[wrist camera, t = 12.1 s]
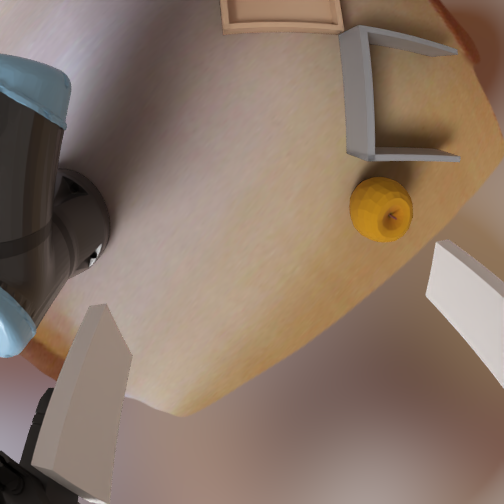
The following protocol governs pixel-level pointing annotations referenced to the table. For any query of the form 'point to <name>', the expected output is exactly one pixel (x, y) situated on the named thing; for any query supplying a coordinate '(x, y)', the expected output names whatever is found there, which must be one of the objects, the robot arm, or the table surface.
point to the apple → (381, 209)
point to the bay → (361, 92)
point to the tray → (281, 16)
